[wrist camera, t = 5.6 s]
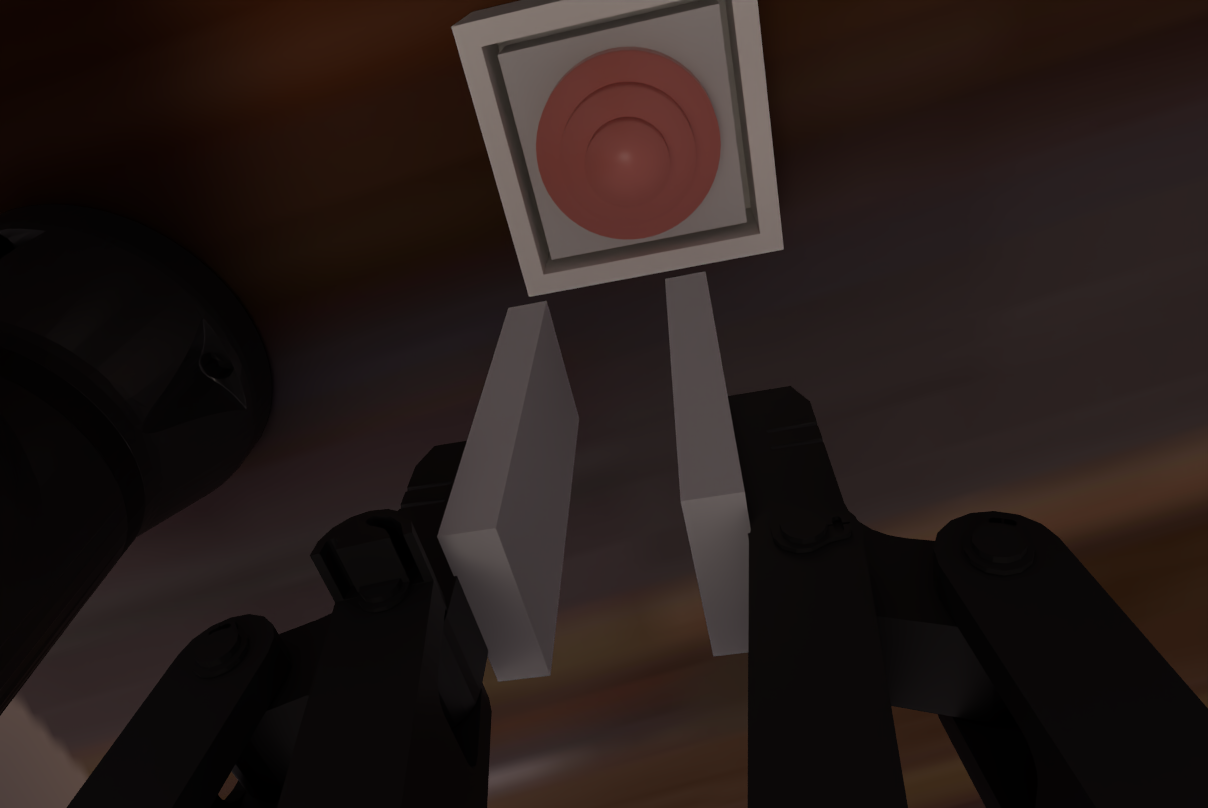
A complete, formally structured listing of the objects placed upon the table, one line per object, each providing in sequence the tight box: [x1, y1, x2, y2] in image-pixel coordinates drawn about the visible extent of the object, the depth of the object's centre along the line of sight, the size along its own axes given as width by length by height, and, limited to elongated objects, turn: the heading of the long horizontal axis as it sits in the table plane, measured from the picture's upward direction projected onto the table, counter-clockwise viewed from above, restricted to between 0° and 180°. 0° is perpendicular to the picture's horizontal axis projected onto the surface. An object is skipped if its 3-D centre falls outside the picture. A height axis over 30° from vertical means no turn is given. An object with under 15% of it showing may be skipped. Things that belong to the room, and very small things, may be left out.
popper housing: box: [452, 0, 784, 297], centre depth 31 cm, size 10×10×4 cm
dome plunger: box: [498, 0, 747, 260], centre depth 29 cm, size 8×8×5 cm
